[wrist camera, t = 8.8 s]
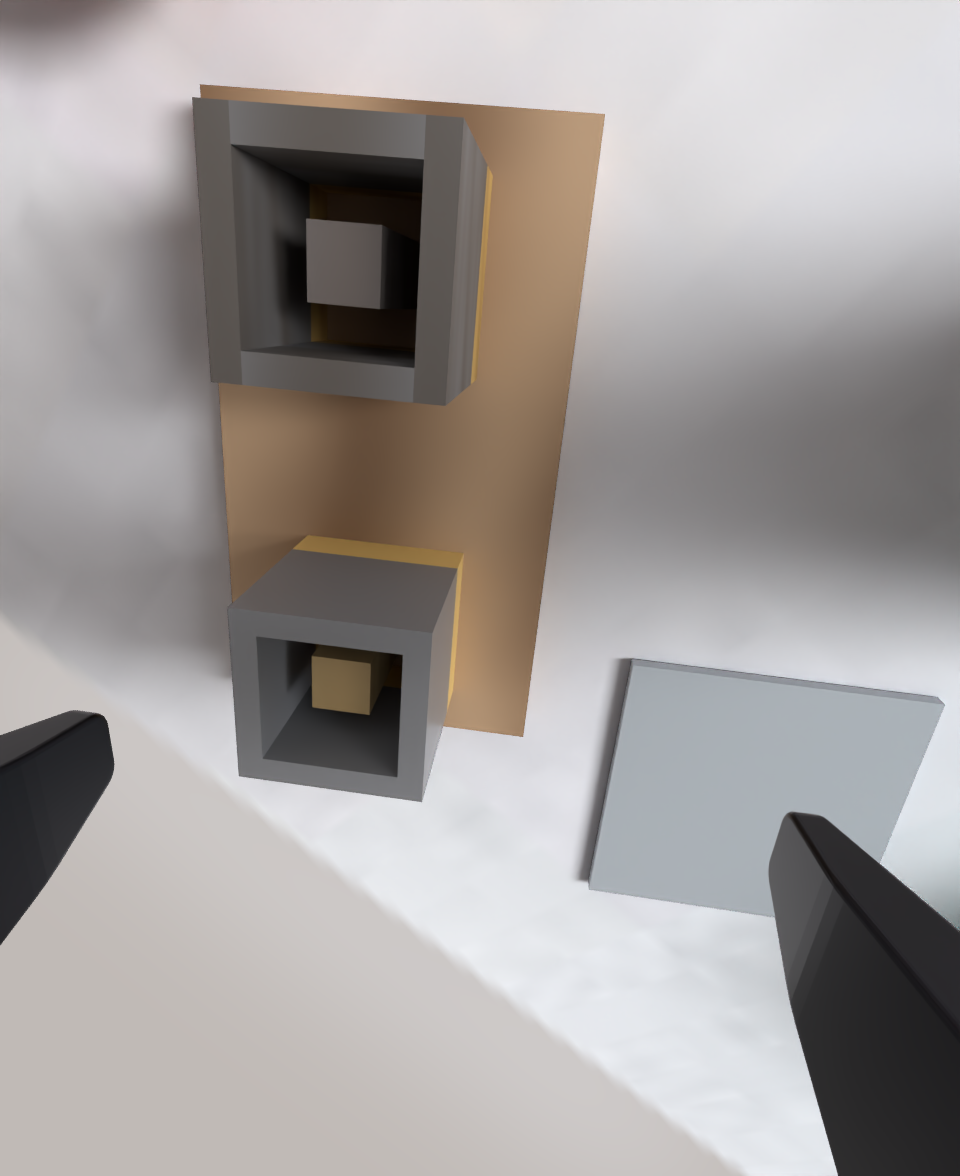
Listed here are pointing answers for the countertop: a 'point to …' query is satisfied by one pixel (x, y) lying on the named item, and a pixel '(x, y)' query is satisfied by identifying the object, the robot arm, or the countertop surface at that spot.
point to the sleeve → (352, 620)
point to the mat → (746, 778)
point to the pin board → (397, 349)
